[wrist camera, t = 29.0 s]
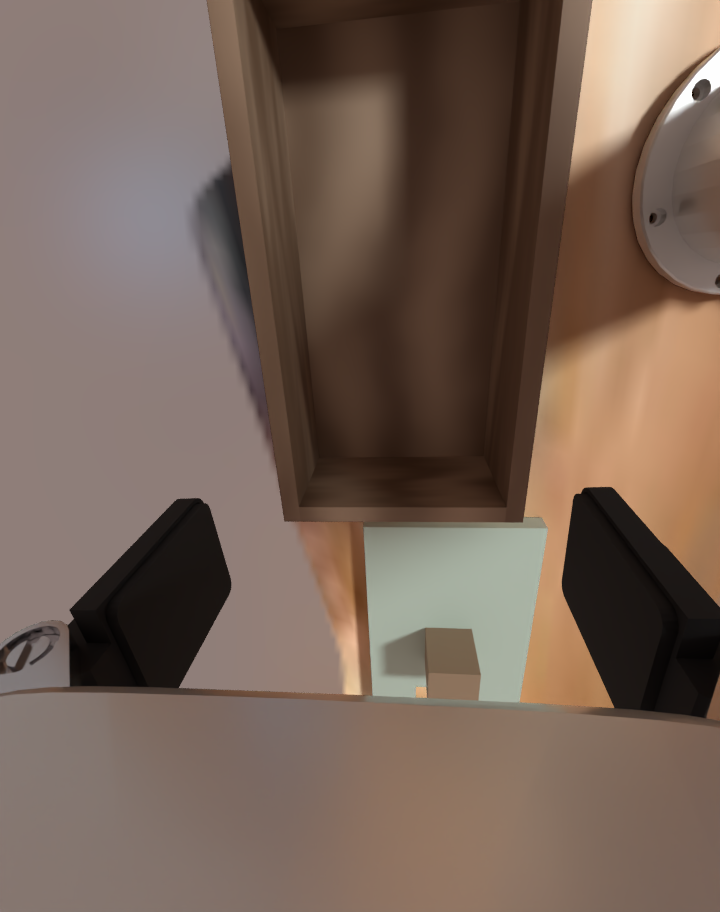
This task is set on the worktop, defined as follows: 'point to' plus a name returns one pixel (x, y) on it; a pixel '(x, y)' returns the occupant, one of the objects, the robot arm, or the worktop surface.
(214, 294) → the worktop surface
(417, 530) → the lid
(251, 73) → the brown open box
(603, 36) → the worktop surface
